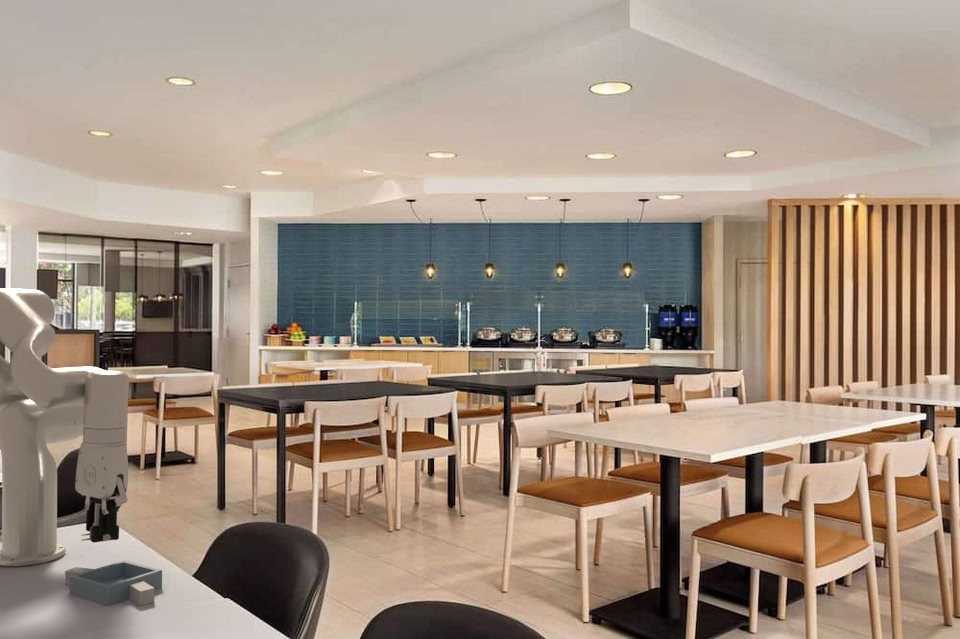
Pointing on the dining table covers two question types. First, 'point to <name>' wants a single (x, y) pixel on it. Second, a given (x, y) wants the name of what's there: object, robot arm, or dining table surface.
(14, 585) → the dining table surface
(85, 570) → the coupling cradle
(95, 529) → the push button
